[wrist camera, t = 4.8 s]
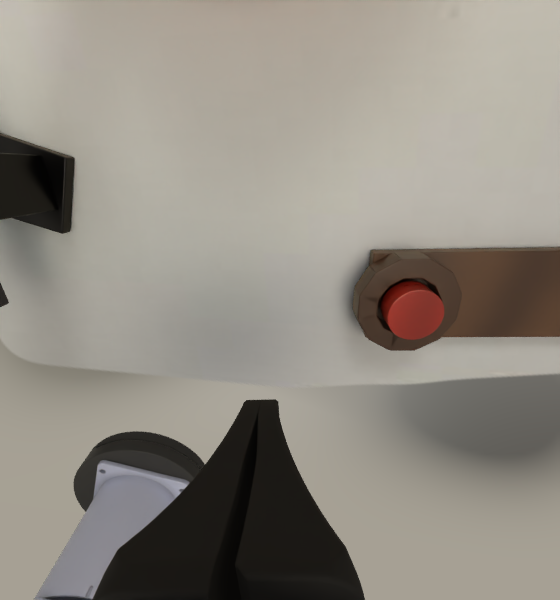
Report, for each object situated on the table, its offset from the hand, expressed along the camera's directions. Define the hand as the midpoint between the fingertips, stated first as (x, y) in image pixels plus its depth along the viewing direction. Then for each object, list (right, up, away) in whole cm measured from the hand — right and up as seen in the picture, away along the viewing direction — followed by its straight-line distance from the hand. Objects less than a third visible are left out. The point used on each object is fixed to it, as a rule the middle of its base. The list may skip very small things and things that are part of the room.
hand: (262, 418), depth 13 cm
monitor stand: (-15, +12, +6) cm, 20 cm away
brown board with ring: (+16, +6, +8) cm, 18 cm away
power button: (+9, +5, +6) cm, 12 cm away
